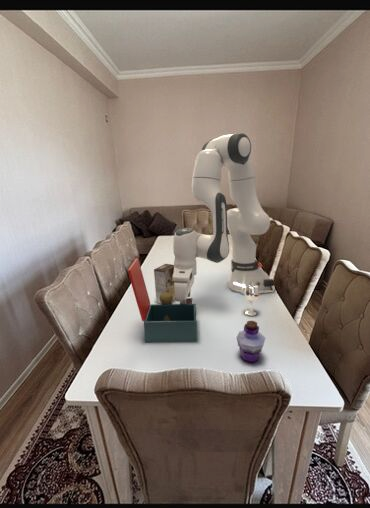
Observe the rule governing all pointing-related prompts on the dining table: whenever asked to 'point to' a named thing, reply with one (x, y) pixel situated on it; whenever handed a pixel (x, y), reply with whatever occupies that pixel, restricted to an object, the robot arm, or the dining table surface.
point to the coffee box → (164, 280)
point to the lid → (139, 288)
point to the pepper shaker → (166, 301)
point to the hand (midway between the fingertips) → (186, 301)
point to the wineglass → (251, 296)
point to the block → (188, 301)
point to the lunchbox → (171, 323)
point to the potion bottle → (250, 342)
